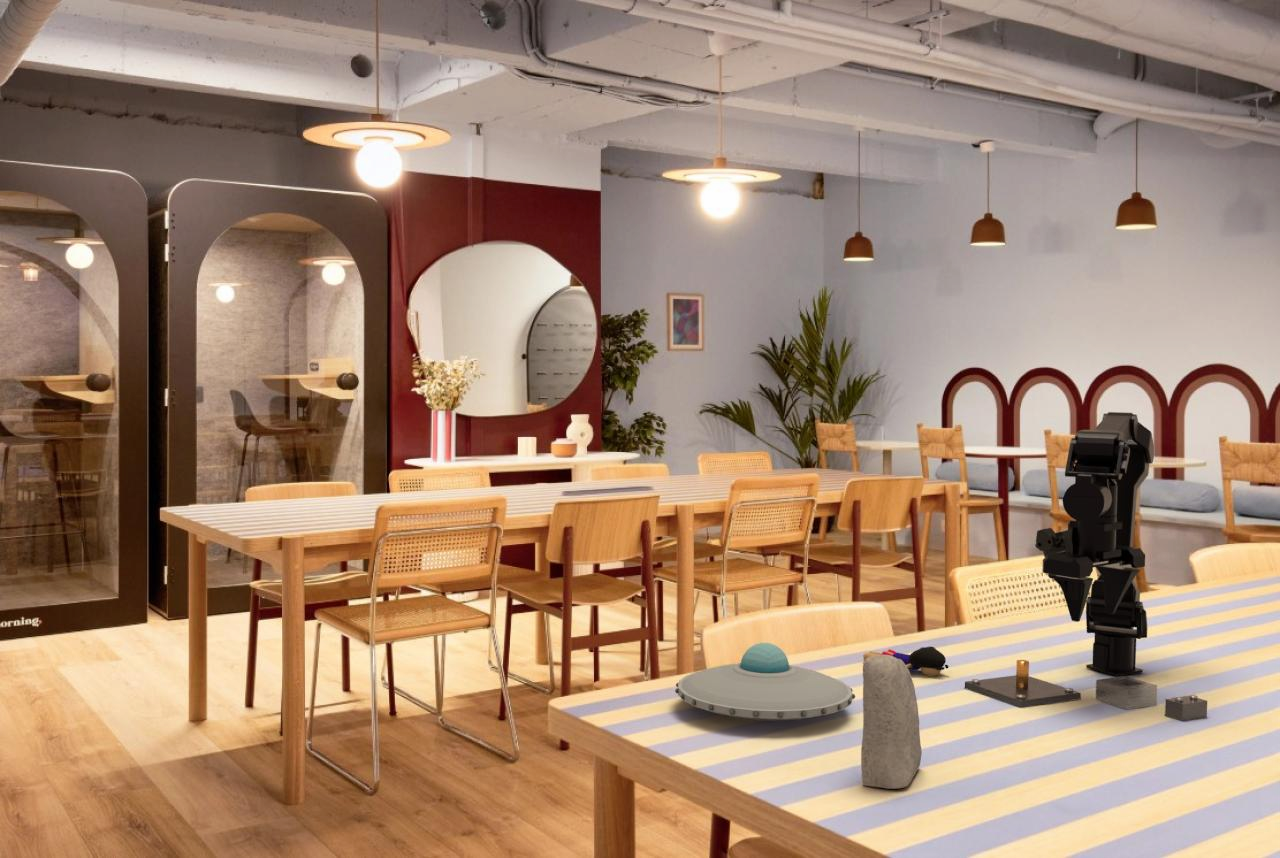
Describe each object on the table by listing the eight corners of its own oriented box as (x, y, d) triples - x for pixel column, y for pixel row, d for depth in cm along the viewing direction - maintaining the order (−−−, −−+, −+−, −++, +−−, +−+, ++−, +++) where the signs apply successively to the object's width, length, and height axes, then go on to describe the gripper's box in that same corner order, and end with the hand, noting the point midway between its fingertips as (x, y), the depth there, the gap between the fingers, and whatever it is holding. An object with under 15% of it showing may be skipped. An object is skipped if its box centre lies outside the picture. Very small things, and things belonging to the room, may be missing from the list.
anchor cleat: (1189, 711, 177) (1189, 692, 177) (1206, 717, 174) (1207, 697, 174) (1164, 715, 175) (1165, 696, 175) (1182, 721, 172) (1183, 701, 172)
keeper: (1023, 680, 194) (1024, 649, 194) (1080, 699, 183) (1081, 666, 183) (964, 688, 189) (965, 656, 188) (1020, 707, 178) (1021, 673, 178)
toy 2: (849, 670, 202) (929, 684, 191) (849, 643, 201) (929, 655, 191) (883, 661, 209) (961, 673, 198) (882, 634, 209) (961, 645, 198)
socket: (1124, 695, 186) (1124, 676, 186) (1156, 705, 180) (1157, 685, 180) (1095, 699, 183) (1096, 679, 183) (1127, 709, 178) (1128, 689, 178)
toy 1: (637, 712, 172) (638, 643, 172) (744, 680, 192) (745, 617, 191) (788, 751, 155) (789, 674, 155) (888, 711, 175) (890, 643, 174)
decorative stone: (883, 760, 152) (886, 642, 152) (930, 768, 149) (933, 648, 149) (853, 785, 143) (856, 659, 142) (903, 794, 140) (906, 666, 139)
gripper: (1083, 505, 194) (1080, 601, 195) (1012, 513, 183) (1010, 615, 184) (1148, 512, 185) (1145, 613, 186) (1079, 521, 174) (1075, 629, 175)
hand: (1092, 617), depth 183 cm, fingers open, 9 cm apart
